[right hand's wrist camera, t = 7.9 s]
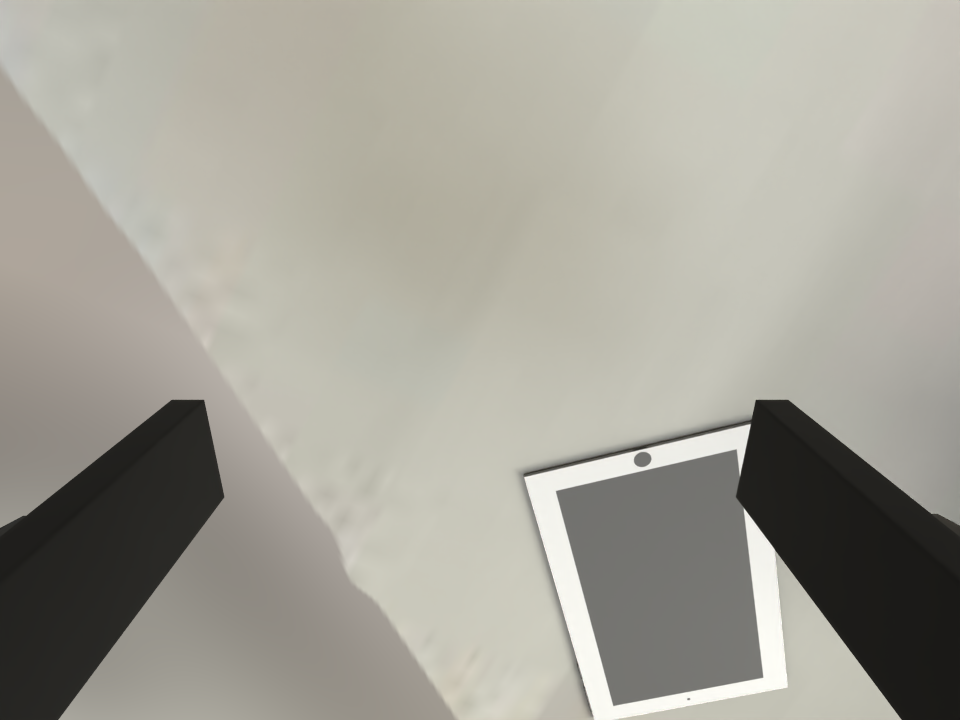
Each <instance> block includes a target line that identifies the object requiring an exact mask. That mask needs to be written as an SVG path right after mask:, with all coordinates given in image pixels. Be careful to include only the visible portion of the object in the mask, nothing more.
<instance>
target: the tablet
mask: <svg viewBox="0 0 960 720" xmlns="http://www.w3.org/2000/svg"><path fill="white" fill-rule="evenodd" d="M750 426H751V422H746V423H742V424H738V425H734V426H729V427H725V428H721V429H717V430H712V431H708V432H704V433H700V434H695V435H691V436H687V437H683V438H678V439H674V440H670V441H665V442H661V443H657V444H653V445H648V446H644V447H640V448H636V449H631V450H627V451H623V452H619V453H614V454H610V455H606V456H602V457H597V458H593V459H589V460H585V461H580V462H576V463H572V464H568V465H563V466H559V467H555V468H551V469H546V470H542V471H538V472H534V473H529V474H525V475H524V479H525V482H526V486H527V489H528V492H529V496H530V499H531V503H532V506H533V510H534V513H535V517H536V520H537V523H538V527H539V530H540V534H541V537H542V541H543V544H544V548H545V551H546V554H547V558H548V561H549V565H550V568H551V572H552V575H553V579H554V582H555V585H556V589H557V592H558V596H559V599H560V603H561V606H562V610H563V613H564V616H565V620H566V623H567V627H568V630H569V634H570V637H571V641H572V644H573V647H574V651H575V654H576V658H577V661H578V664H577V666H578V670H579V673H580V676H581V679H583V682H584V685H585V686H584V690H585V694H586V697H587V700H588V704H589V707H590V711H591V712H592V713H593V716H594V720H615V719H620V718H626V717H631V716H636V715H642V714H647V713H652V712H658V711H663V710H669V709H674V708H679V707H685V706H690V705H696V704H701V703H706V702H712V701H717V700H722V699H728V698H733V697H739V696H744V695H749V694H755V693H760V692H766V691H771V690H776V689H782V688H787V687H788V685H787V674H786V664H785V653H784V643H783V632H782V622H781V611H780V600H779V590H778V579H777V569H776V558H775V549H774V548H773V546H772V545H771V544H770V542H769V541H768V540H767V538H766V537H765V536H764V534H763V533H762V532H761V530H760V529H759V528H758V526H757V525H756V524H755V522H754V521H753V520H752V518H751V517H750V516H749V514H748V513H747V512H746V510H745V509H744V508H743V506H742V505H741V504H740V502H739V501H738V500H737V498H736V493H737V488H738V484H739V479H740V474H741V469H742V464H743V460H744V455H745V450H746V445H747V440H748V436H749V431H750Z"/></svg>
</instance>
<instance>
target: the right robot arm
mask: <svg viewBox="0 0 960 720" xmlns="http://www.w3.org/2000/svg"><path fill="white" fill-rule="evenodd" d="M223 498H224V493H223V488H222V484H221V479H220V474H219V469H218V464H217V460H216V455H215V450H214V445H213V440H212V436H211V431H210V426H209V421H208V416H207V412H206V407H205V402H204V400H171V401H170V402H169V403H167V404H166V405H165V406H164V407H162V408H161V409H160V410H159V411H157V412H156V413H155V414H154V415H152V416H151V417H150V418H149V419H147V420H146V421H145V422H144V423H142V424H141V425H140V426H138V427H137V428H136V429H135V430H133V431H132V432H131V433H130V434H128V435H127V436H126V437H125V438H124V439H122V440H121V441H120V442H118V443H117V444H116V445H115V446H113V447H112V448H111V449H110V450H108V451H107V452H106V453H105V454H103V455H102V456H101V457H100V458H98V459H97V460H96V461H95V462H93V463H92V464H91V465H90V466H88V467H87V468H86V469H85V470H83V471H82V472H81V473H80V474H78V475H77V476H76V477H74V478H73V479H72V480H71V481H69V482H68V483H67V484H66V485H64V486H63V487H62V488H61V489H59V490H58V491H57V492H56V493H54V494H53V495H52V496H51V497H49V498H48V499H47V500H46V501H44V502H43V503H42V504H41V505H39V506H38V507H37V508H36V509H34V510H33V511H32V512H31V513H29V514H28V515H27V516H22V517H20V518H18V519H17V520H14V521H13V522H11V523H9V524H7V525H5V526H3V527H1V528H0V720H58V719H59V718H60V717H61V715H62V714H63V713H64V711H65V710H66V709H67V707H68V706H69V705H70V703H71V702H72V701H73V699H74V698H75V697H76V695H77V694H78V693H79V691H80V690H81V689H82V687H83V686H84V685H85V683H86V682H87V681H88V679H89V678H90V676H91V675H92V674H93V672H94V671H95V670H96V668H97V667H98V666H99V664H100V663H101V662H102V660H103V659H104V658H105V656H106V655H107V654H108V652H109V651H110V650H111V648H112V647H113V646H114V644H115V643H116V642H117V640H118V639H119V638H120V636H121V635H122V634H123V632H124V631H125V630H126V628H127V627H128V626H129V624H130V623H131V622H132V620H133V619H134V618H135V616H136V615H137V613H138V612H139V611H140V609H141V608H142V607H143V605H144V604H145V603H146V601H147V600H148V599H149V597H150V596H151V595H152V593H153V592H154V591H155V589H156V588H157V587H158V585H159V584H160V583H161V581H162V580H163V579H164V577H165V576H166V575H167V573H168V572H169V571H170V569H171V568H172V567H173V565H174V564H175V563H176V561H177V560H178V559H179V557H180V556H181V554H182V553H183V552H184V550H185V549H186V548H187V546H188V545H189V544H190V542H191V541H192V540H193V538H194V537H195V536H196V534H197V533H198V532H199V530H200V529H201V528H202V526H203V525H204V524H205V522H206V521H207V520H208V518H209V517H210V516H211V514H212V513H213V512H214V510H215V509H216V508H217V506H218V505H219V504H220V502H221V501H222V499H223ZM736 498H737V500H738V501H739V502H740V504H741V505H742V506H743V508H744V509H745V510H746V512H747V513H748V514H749V516H750V517H751V518H752V520H753V521H754V522H755V524H756V525H757V526H758V528H759V529H760V530H761V532H762V533H763V534H764V536H765V537H766V538H767V540H768V541H769V542H770V544H771V545H772V546H773V548H774V549H775V550H776V552H777V553H778V555H779V556H780V557H781V559H782V560H783V561H784V563H785V564H786V565H787V567H788V568H789V569H790V571H791V572H792V573H793V575H794V576H795V577H796V579H797V580H798V581H799V583H800V584H801V585H802V587H803V588H804V589H805V591H806V592H807V593H808V595H809V596H810V597H811V599H812V600H813V601H814V603H815V604H816V605H817V607H818V608H819V609H820V611H821V612H822V613H823V615H824V616H825V618H826V619H827V620H828V622H829V623H830V624H831V626H832V627H833V628H834V630H835V631H836V632H837V634H838V635H839V636H840V638H841V639H842V640H843V642H844V643H845V644H846V646H847V647H848V648H849V650H850V651H851V652H852V654H853V655H854V656H855V658H856V659H857V660H858V662H859V663H860V664H861V666H862V667H863V668H864V670H865V671H866V672H867V674H868V675H869V676H870V678H871V679H872V681H873V682H874V683H875V685H876V686H877V687H878V689H879V690H880V691H881V693H882V694H883V695H884V697H885V698H886V699H887V701H888V702H889V703H890V705H891V706H892V707H893V709H894V710H895V711H896V713H897V714H898V715H899V717H900V718H901V719H902V720H960V526H959V525H957V524H956V523H954V522H952V521H950V520H948V519H946V518H944V517H942V516H940V515H938V514H931V513H929V512H928V511H927V510H926V509H924V508H923V507H922V506H921V505H919V504H918V503H917V502H916V501H914V500H913V499H912V498H911V497H909V496H908V495H907V494H906V493H904V492H903V491H902V490H901V489H899V488H898V487H897V486H896V485H894V484H893V483H892V482H891V481H889V480H888V479H887V478H886V477H884V476H883V475H882V474H881V473H879V472H878V471H877V470H875V469H874V468H873V467H872V466H870V465H869V464H868V463H867V462H865V461H864V460H863V459H862V458H860V457H859V456H858V455H857V454H855V453H854V452H853V451H852V450H850V449H849V448H848V447H847V446H845V445H844V444H843V443H842V442H840V441H839V440H838V439H837V438H835V437H834V436H833V435H832V434H830V433H829V432H828V431H827V430H825V429H824V428H823V427H822V426H820V425H819V424H818V423H816V422H815V421H814V420H813V419H811V418H810V417H809V416H808V415H806V414H805V413H804V412H803V411H801V410H800V409H799V408H798V407H796V406H795V405H794V404H793V403H791V402H790V401H789V400H756V402H755V407H754V412H753V416H752V421H751V426H750V431H749V436H748V440H747V445H746V450H745V455H744V460H743V464H742V469H741V474H740V479H739V484H738V488H737V493H736Z"/></svg>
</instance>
